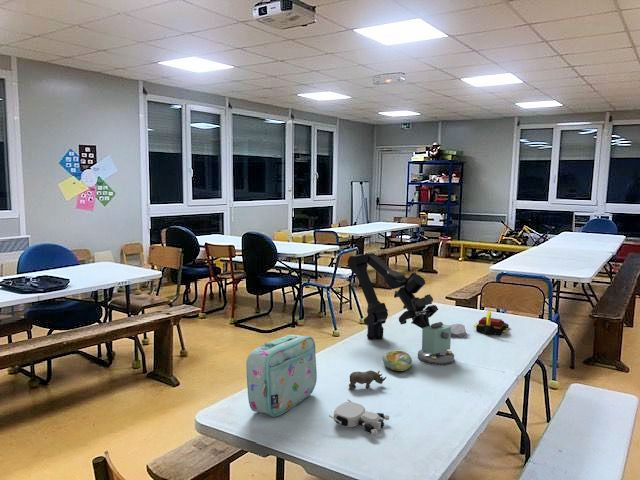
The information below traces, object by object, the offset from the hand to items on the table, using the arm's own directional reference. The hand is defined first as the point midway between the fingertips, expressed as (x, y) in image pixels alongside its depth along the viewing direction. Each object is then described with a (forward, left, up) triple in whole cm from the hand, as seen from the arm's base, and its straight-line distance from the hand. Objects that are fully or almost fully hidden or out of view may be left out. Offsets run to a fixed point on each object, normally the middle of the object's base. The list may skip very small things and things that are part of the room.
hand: (430, 332), depth 202 cm
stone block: (+16, +30, -11) cm, 36 cm away
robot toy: (-31, -57, -11) cm, 66 cm away
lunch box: (-54, -45, -10) cm, 71 cm away
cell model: (-14, -11, -11) cm, 21 cm away
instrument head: (+3, -3, -6) cm, 8 cm away
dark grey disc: (+2, -2, -10) cm, 11 cm away
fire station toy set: (+37, +38, -11) cm, 54 cm away
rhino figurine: (-27, -31, -11) cm, 42 cm away
